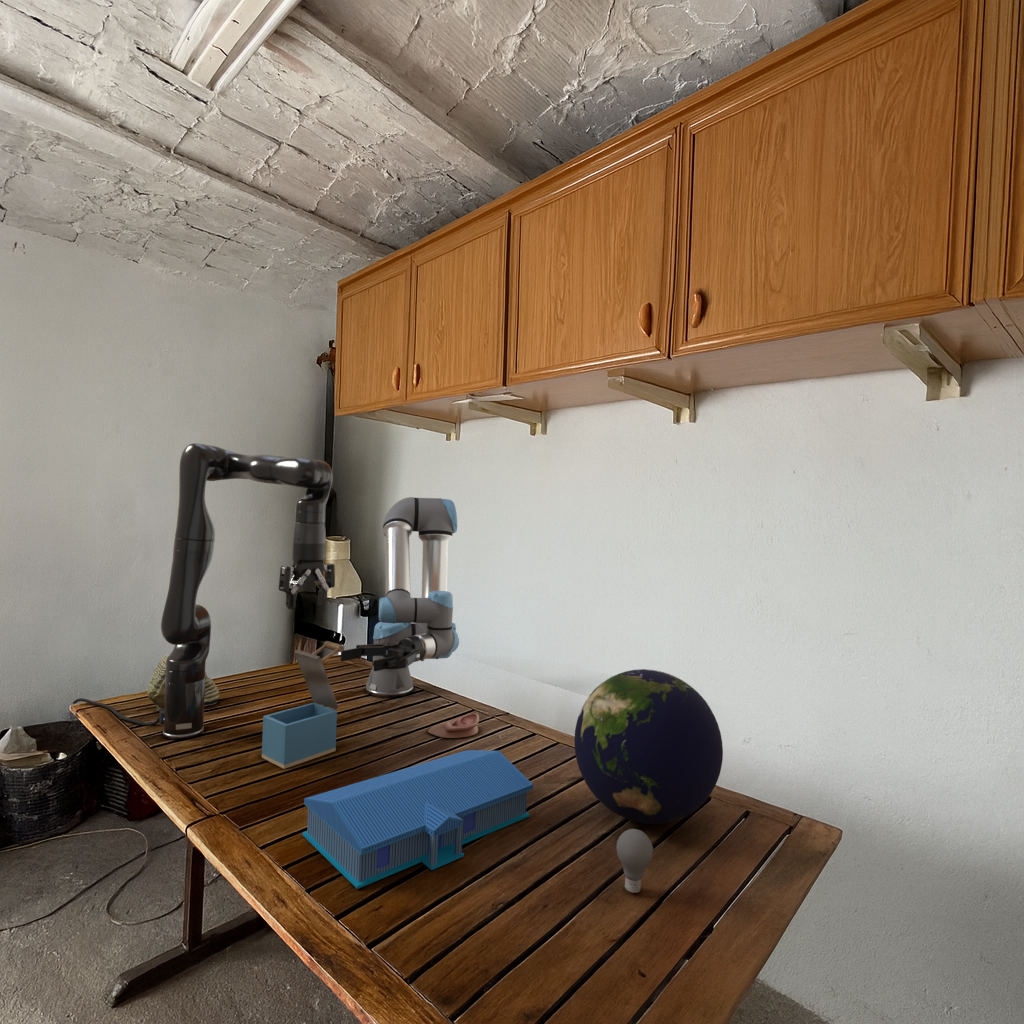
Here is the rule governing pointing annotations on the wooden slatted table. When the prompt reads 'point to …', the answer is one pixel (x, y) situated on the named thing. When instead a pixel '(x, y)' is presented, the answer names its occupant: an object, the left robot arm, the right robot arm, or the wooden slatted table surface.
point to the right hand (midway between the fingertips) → (357, 660)
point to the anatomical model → (457, 727)
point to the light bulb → (634, 857)
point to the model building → (416, 814)
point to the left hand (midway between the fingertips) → (306, 607)
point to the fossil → (158, 687)
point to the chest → (299, 734)
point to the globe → (648, 746)
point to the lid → (318, 674)
